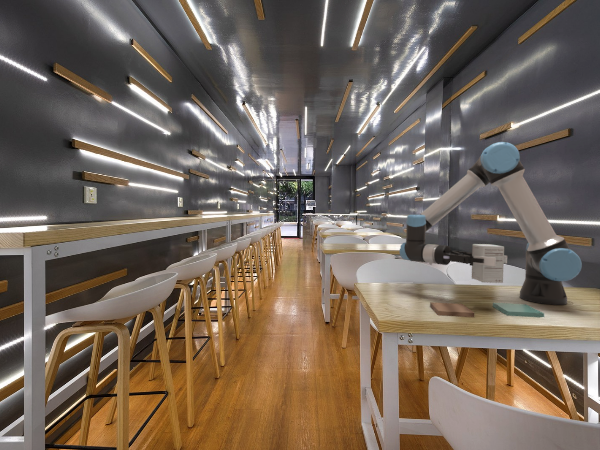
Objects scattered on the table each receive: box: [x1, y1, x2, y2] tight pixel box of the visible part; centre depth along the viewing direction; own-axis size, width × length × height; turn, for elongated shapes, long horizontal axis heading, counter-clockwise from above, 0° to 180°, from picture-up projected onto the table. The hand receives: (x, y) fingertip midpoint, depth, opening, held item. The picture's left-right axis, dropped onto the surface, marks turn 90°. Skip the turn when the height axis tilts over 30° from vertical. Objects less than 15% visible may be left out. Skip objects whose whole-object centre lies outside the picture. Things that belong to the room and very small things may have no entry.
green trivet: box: [492, 302, 545, 318], centre depth 111 cm, size 11×11×2 cm
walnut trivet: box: [429, 302, 475, 318], centre depth 110 cm, size 11×11×2 cm
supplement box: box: [471, 243, 505, 284], centre depth 113 cm, size 7×7×13 cm
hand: (501, 260), depth 109 cm, fingers closed on supplement box, 10 cm apart
